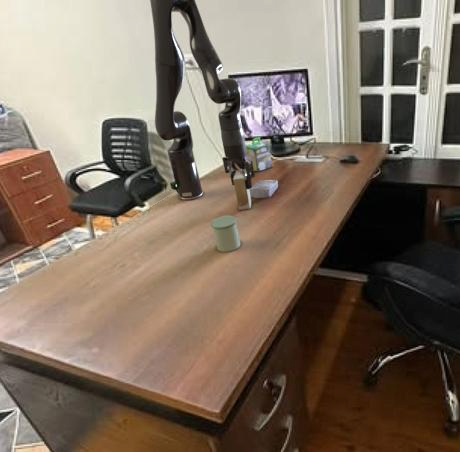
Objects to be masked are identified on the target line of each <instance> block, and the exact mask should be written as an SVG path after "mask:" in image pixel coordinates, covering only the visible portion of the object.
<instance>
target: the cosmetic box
mask: <svg viewBox="0 0 460 452" xmlns="http://www.w3.org/2000/svg"><path fill="white" fill-rule="evenodd" d="M245 175H246V176H247V173H245ZM244 180H245V179H244V177H243V175H241V174H240V172H236V174H235V175H234V178H233V181H234V185H233V186H234V191H235V196H236V201H237V207H238V211H242V210H250V209H251V208H252V197H251V196H250V191H249V190H250V189H246V186H245V181H244Z"/></svg>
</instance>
